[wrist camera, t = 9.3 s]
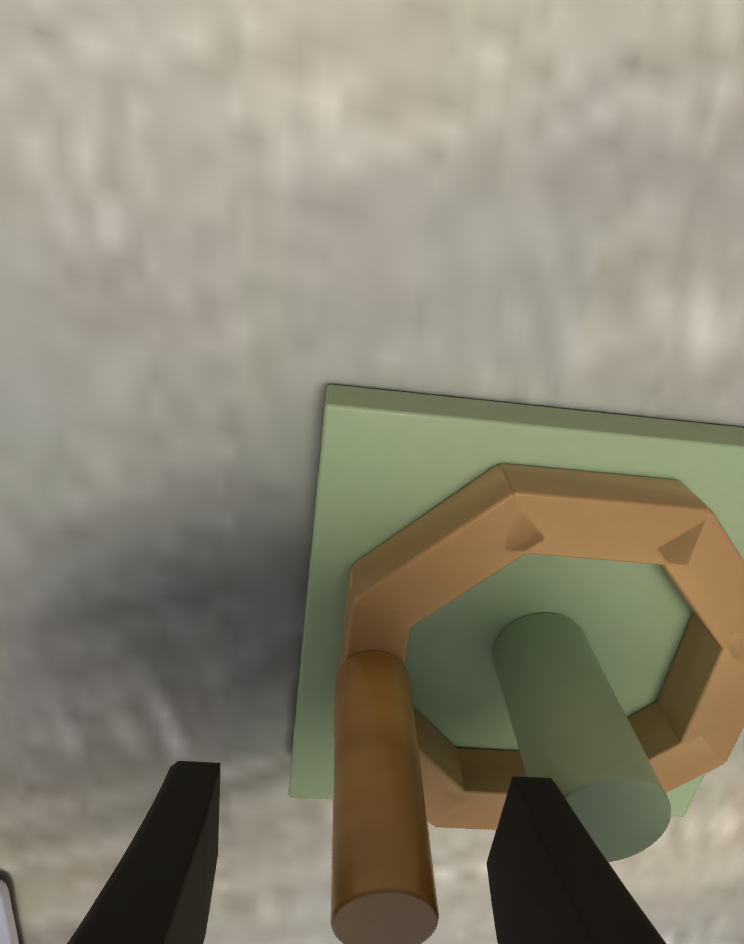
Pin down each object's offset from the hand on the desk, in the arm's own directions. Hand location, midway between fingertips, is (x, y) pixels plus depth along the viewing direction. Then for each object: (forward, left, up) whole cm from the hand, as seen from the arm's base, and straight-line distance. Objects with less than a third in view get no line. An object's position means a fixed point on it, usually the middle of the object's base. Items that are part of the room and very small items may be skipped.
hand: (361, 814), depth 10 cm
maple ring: (+4, 0, -4) cm, 6 cm away
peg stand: (+4, 0, -5) cm, 6 cm away
